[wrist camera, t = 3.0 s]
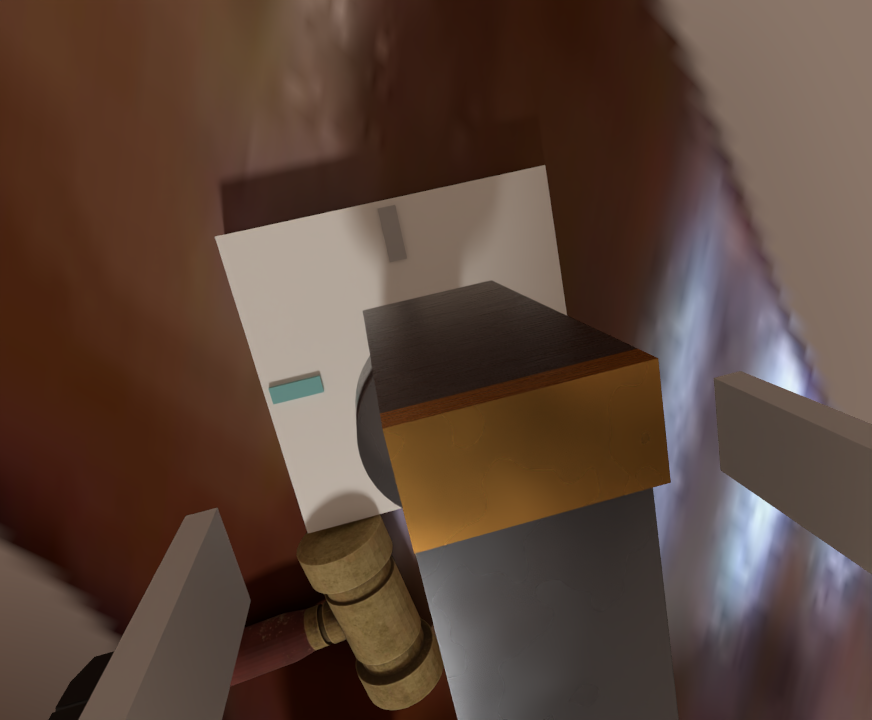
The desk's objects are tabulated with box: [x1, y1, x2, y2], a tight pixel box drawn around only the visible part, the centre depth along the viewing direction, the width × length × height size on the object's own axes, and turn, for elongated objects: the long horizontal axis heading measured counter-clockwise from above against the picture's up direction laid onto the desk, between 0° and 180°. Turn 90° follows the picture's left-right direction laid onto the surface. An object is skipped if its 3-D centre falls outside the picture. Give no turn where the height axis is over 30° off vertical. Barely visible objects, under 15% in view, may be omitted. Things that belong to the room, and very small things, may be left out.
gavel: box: [230, 514, 444, 710], centre depth 30 cm, size 21×5×10 cm
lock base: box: [215, 165, 567, 533], centre depth 25 cm, size 15×15×8 cm
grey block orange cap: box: [355, 280, 679, 720], centre depth 15 cm, size 9×6×13 cm
